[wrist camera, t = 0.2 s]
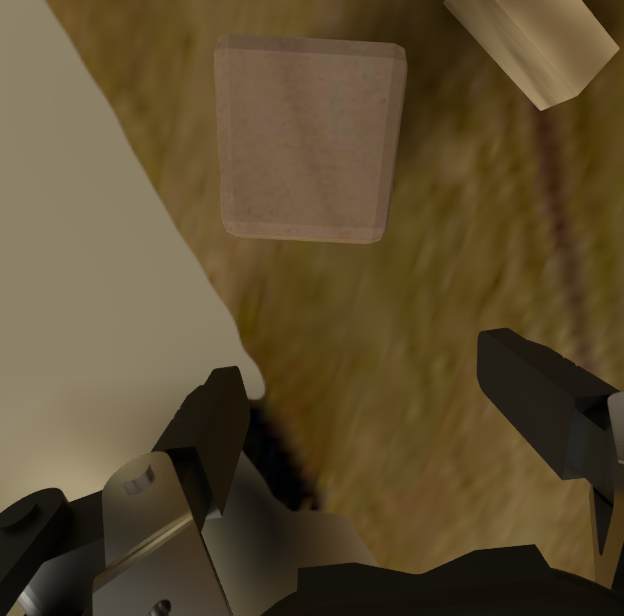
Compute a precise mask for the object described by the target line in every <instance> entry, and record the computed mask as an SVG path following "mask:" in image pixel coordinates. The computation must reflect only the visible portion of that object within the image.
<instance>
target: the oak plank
mask: <svg viewBox="0 0 624 616" xmlns="http://www.w3.org/2000/svg"><path fill="white" fill-rule="evenodd" d="M443 4H444V5H445V7H446V8H447V9H448V10H449V11H450V12H451V13H452V14H453V15H454V16H455V18H456V19H457V20H458V21H459V22H460V23H461V24H462V25H463V26H464V27H465V29H466V30H467V31H468V32H469V33H470V34H471V35H472V36H473V37H474V38H475V40H476V41H477V42H478V43H479V44H480V45H481V46H482V47H483V48H484V49H485V51H486V52H487V53H488V54H489V55H490V56H491V57H492V58H493V59H494V60H495V61H496V63H497V64H498V65H499V66H500V67H501V68H502V69H503V70H504V71H505V72H506V74H507V75H508V76H509V77H510V78H511V79H512V80H513V81H514V82H515V83H516V85H517V86H518V87H519V88H520V89H521V90H522V91H523V92H524V93H525V94H526V96H527V97H528V98H529V99H530V100H531V101H532V102H533V103H534V104H535V105H536V107H537V108H538V109H539V110H540V111H542V110H544V109H547V108H549V107H551V106H554V105H556V104H559V103H561V102H564V101H566V100H568V99H571V98H573V97H576V96H578V95H579V93H580V92H581V91H582V90H583V89H584V88H585V87H586V86H587V85H588V83H589V82H590V81H591V80H592V79H593V78H594V77H595V76H596V75H597V73H598V72H599V71H600V70H601V69H602V68H603V67H604V66H605V65H606V63H607V62H608V61H609V60H610V59H611V58H612V57H613V56H614V55H615V53H616V52H617V51H618V50H619V49H620V48H619V47H618V46H617V44H616V43H615V42H614V41H613V39H612V38H611V37H610V36H609V34H608V33H607V32H606V31H605V29H604V28H603V27H602V25H601V24H600V23H599V22H598V20H597V19H596V18H595V17H594V15H593V14H592V13H591V11H590V10H589V9H588V8H587V6H586V5H585V4H584V3H583V1H582V0H445V1H444V2H443Z"/></svg>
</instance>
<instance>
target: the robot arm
mask: <svg viewBox="0 0 624 616" xmlns="http://www.w3.org/2000/svg"><path fill="white" fill-rule="evenodd" d="M477 379H478V382H479V385H480V388H481V389H482V391H483V392H484V394H485V395H486V396H487V397H488V398H489V399H490V400H491V402H492V403H493V404H494V405H495V406H496V407H497V408H498V409H499V410H500V412H501V413H502V414H503V415H504V416H505V417H506V418H507V419H508V420H509V422H510V423H511V424H512V425H513V426H514V427H515V428H516V429H517V430H518V432H519V433H520V434H521V435H522V436H523V437H524V438H525V439H526V440H527V442H528V443H529V444H530V445H531V446H532V447H533V448H534V449H535V450H536V452H537V453H538V454H539V455H540V456H541V457H542V458H543V459H544V460H545V462H546V463H547V464H548V465H549V466H550V467H551V468H552V469H553V470H554V472H555V473H556V474H557V475H558V476H559V477H560V478H561V479H562V480H570V479H578V478H586V479H587V480H588V481H589V482H590V483H591V486H590V491H589V502H590V514H591V526H592V539H593V551H594V563H595V582H593V581H591V580H588V579H586V578H583V577H581V576H578V575H576V574H572V573H569V572H565V571H562V570H558V569H554V568H550V567H549V565H548V564H547V562H546V560H545V559H544V557H543V556H542V554H541V553H540V551H539V550H538V548H537V547H536V545H535V544H532V545H522V546H512V547H502V548H492V549H483V550H474V551H472V552H470V553H468V554H465V555H463V556H461V557H459V558H457V559H454V560H452V561H450V562H448V563H446V564H443V565H441V566H439V567H437V568H435V569H432V570H430V571H428V572H426V573H423V574H410V573H405V572H400V571H395V570H390V569H384V568H379V567H374V566H369V565H364V564H359V563H345V564H336V565H326V566H315V567H306V568H298V584H297V585H298V586H297V591H296V592H294V593H292V594H289V595H288V596H286V597H284V598H283V599H281V600H280V601H278V602H276V603H275V604H274V605H273V606H271V607H270V608H269V609H268V610H266V611H265V612H264V613H263V614H262V615H261V616H624V392H621V391H619V390H617V389H616V388H614V387H612V386H611V385H609V384H607V383H606V382H604V381H603V380H601V379H599V378H598V377H596V376H594V375H593V374H591V373H590V372H588V371H586V370H585V369H583V368H581V367H580V366H576V365H575V363H573V362H572V361H570V360H568V359H567V358H563V357H562V355H560V354H558V353H557V352H555V351H554V350H552V349H550V348H549V347H547V346H544V345H541V344H538V343H535V342H532V341H529V340H526V339H524V338H523V337H521V336H520V335H518V334H517V333H515V332H514V331H512V330H510V329H509V328H500V329H493V330H486V331H481V332H480V333H479V335H478V345H477ZM249 422H250V406H249V402H248V398H247V395H246V391H245V387H244V384H243V380H242V377H241V373H240V370H239V368H238V367H237V366H231V367H224V368H217V369H214V370H213V371H212V372H211V374H210V376H209V377H208V379H207V381H206V382H205V384H204V385H200V386H198V387H197V388H196V389H195V390H194V391H193V392H191V393H190V394H189V395H188V396H187V397H186V399H185V400H184V402H183V403H182V405H181V406H180V409H179V410H178V411H177V413H176V414H175V416H174V419H172V420H171V422H170V423H169V425H168V426H167V428H166V429H165V431H164V432H163V434H162V435H161V437H160V439H159V440H158V441H157V443H156V445H155V446H154V448H153V449H152V451H151V452H150V453H147V454H143V455H141V456H138V457H136V458H134V459H132V460H131V461H129V462H127V463H126V464H125V465H123V466H122V467H121V468H119V469H118V470H117V471H116V472H115V473H114V474H113V475H112V476H111V477H110V479H109V480H108V481H107V483H106V485H105V486H104V488H103V490H101V491H99V492H96V493H93V494H90V495H88V496H85V497H82V498H80V499H77V500H74V501H72V502H68V500H67V498H66V497H65V495H64V493H63V492H62V491H61V490H60V489H58V488H47V489H43V490H40V491H37V492H34V493H32V494H30V495H28V496H26V497H24V498H22V499H20V500H19V501H17V502H15V503H14V504H12V505H11V506H9V507H8V508H6V509H5V510H4V511H3V512H1V513H0V616H6V615H7V613H8V612H9V611H10V609H11V608H12V606H13V605H14V603H15V602H17V603H18V605H19V606H20V607H21V608H22V610H23V611H24V612H25V615H24V616H234V615H233V612H232V610H231V607H230V605H229V602H228V600H227V597H226V594H225V592H224V590H223V587H222V584H221V582H220V579H219V577H218V574H217V572H216V569H215V566H214V564H213V561H212V559H211V556H210V554H209V551H208V549H207V546H206V544H205V541H204V539H203V536H202V534H201V531H202V528H203V525H204V522H205V519H211V518H220V517H222V515H223V512H224V508H225V505H226V501H227V498H228V494H229V491H230V487H231V484H232V481H233V477H234V474H235V470H236V467H237V463H238V460H239V457H240V453H241V450H242V446H243V443H244V439H245V436H246V433H247V429H248V426H249Z"/></svg>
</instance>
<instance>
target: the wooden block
mask: <svg viewBox="0 0 624 616" xmlns="http://www.w3.org/2000/svg"><path fill="white" fill-rule="evenodd" d="M214 71H215V92H216V113H217V134H218V155H219V176H220V198H221V219H222V222H223V224H224V226H225V228H226V231H227V232H229V233H231V234H233V235H235V236H237V237H244V238H263V239H282V240H301V241H321V242H340V243H359V244H370V243H373V242H376V241H379V240H381V239H382V237H383V235H384V233H385V231H386V230H387V227H388V219H389V211H390V204H391V196H392V188H393V180H394V173H395V165H396V157H397V149H398V142H399V134H400V126H401V119H402V111H403V103H404V95H405V88H406V80H407V72H408V66H407V61H406V54H405V48H403V47H401V46H399V45H397V44H395V43H382V42H366V41H349V40H332V39H316V38H299V37H282V36H265V35H249V34H232V33H229V34H226V35H223V36H221V37H218V40H217V45H216V49H215V54H214Z"/></svg>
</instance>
